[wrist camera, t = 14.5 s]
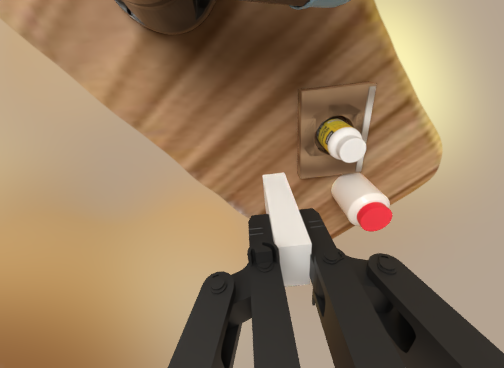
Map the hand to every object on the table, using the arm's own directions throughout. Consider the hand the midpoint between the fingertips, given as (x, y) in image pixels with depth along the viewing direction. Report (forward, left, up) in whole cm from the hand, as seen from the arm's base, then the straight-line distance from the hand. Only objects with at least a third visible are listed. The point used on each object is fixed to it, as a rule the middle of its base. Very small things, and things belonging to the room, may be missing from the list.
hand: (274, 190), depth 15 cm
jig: (+5, +14, -26) cm, 30 cm away
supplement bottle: (+5, +14, -27) cm, 30 cm away
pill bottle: (+18, +19, -27) cm, 37 cm away
